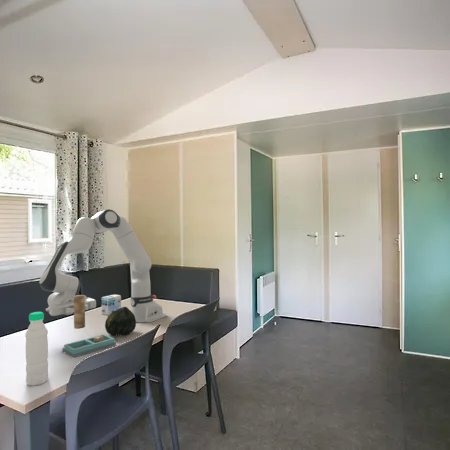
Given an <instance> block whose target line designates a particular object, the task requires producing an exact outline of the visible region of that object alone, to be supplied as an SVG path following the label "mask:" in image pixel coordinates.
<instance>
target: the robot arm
mask: <svg viewBox="0 0 450 450" xmlns="http://www.w3.org/2000/svg"><path fill="white" fill-rule="evenodd" d="M107 231H110V232H111V233H112V235H113V237H114V239H115V240H116V241H117V243H118V245H119V247H120V249H121V251H122V252H123V254H124V255H125V258H126V259H127V261H128V263H129V267H130V268H129V269H130V283H131V284H130V285H131V286H130V287H131V296H130V307H131V308H130V311H131V312H132V313H133V314H134V316H135V319H136V323H152V322H155V321H157V320H159V319H163V318H166V317H167V316H168V315H167V313H165V312H164V311H163V310H164V309H163V307H162V305H160V304H159V303H158V302H156V301H154V299H157V295H155V294H151V279H150V278H151V277H150V276H151V275H150V270H151V268H152V260H151V258H150V256H149V254H148V253H147V252H146V250H145V248H144V246H143V244H142V243H141V241H140V240H139V237H137V235H136V233H135V231H134V228H132V226H131V224H130V223H129V222H128V220H127V219H126V218H125V217H123V216H120V215H118V214H117V212H116V211H115V210H113V209H109V208H108V209H103V210H102V211H101V210H100V211H99V212H96V214H94V215H93V216H91V217H87V216H86V217H85V216H84V217H80V218H79V219H78V220H77V222H76V224H75V225H74V227H73V230H72V232H71V235H70V237H69V239H67V240H64V241H63V242H61V244H60V245H59V246H58V248H57V250H56V251H55V253H54V255H53V257H52V259H51V260H50V262H49V264H48V265H47V267H46V269H45V270H44V272H43V273H42V275H41V276H40V278H39V281H38V284H39V286H40V288H41V289H42V291H46V292H53V293H51V294H50V295H49V296H48V297H47V304H48V305H47V308H45V311H46V312H48V314H49V315H50V316H51V317H55V316H61V315H62V316H63V315H65V316H69V315H72V314H74V313H75V308H74V296H76V295H79V293H80V290H81V282H80V279H79V278H78V277H77V276H73V275H71V274H67V273H63V272H60V271H59V268H60V266H61V264H62V263H63V261H64V259H65V257H66V256H67V255H70V254H71V255H73V254H75V255H76V254H83V253H87V252H88V251H89V250H90V249H91V247H92V245H93V242H94V238H95V234H98V235H99V234H100V235H101V234H102V233H105V232H107ZM96 307H97V300H96V299H94V298H91V297H88V296H87V295H85V311H88V310H91V309H96Z"/></svg>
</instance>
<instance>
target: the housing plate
mask: <svg viewBox="0 0 450 450" xmlns="http://www.w3.org/2000/svg"><path fill="white" fill-rule="evenodd" d="M114 346H117V342H116V341H115V338H114V337H111V335H110V336H109V335H108V334H104V333H103V334H100V335H94V336H93V337H88V338H85V339H80V340H77V341H73V342H72V341H71V342H69V343H65V344H63V348H62V352H63V353H64V352H65V353H64V354H66V355H68V356H69V357H71V358H77V357H80V356H84V355H87V354H91V353H94V352H98V351H100V350H103V349H107V348H110V347H114Z"/></svg>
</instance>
